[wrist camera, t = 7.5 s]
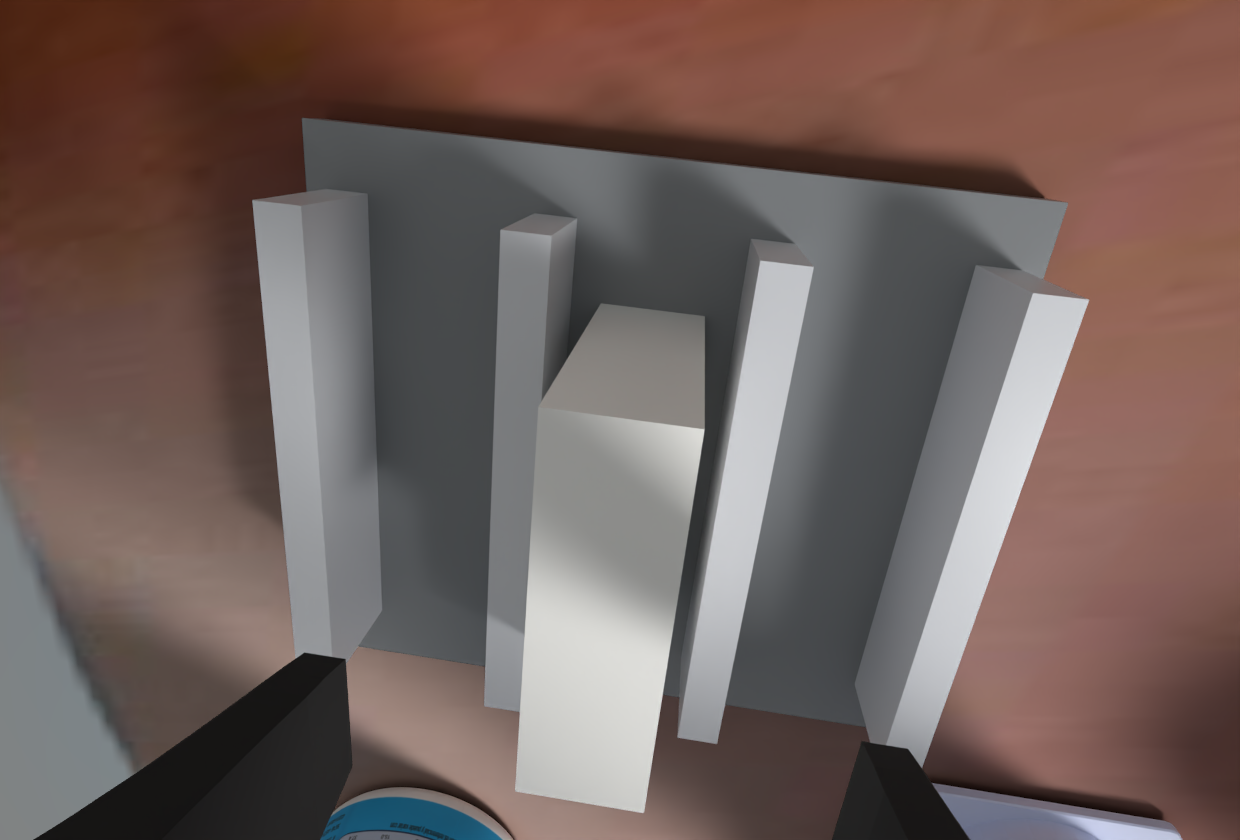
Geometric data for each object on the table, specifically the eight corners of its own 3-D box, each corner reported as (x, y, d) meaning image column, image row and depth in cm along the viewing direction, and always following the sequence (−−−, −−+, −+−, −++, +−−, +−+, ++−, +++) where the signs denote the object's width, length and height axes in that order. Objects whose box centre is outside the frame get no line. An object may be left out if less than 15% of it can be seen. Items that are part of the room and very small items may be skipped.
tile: (663, 593, 20) (643, 813, 14) (575, 580, 20) (515, 791, 14) (704, 316, 17) (704, 428, 11) (601, 303, 17) (537, 407, 11)
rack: (886, 706, 22) (923, 823, 18) (351, 622, 23) (283, 716, 19) (1047, 199, 16) (1148, 219, 12) (323, 118, 17) (218, 115, 14)
